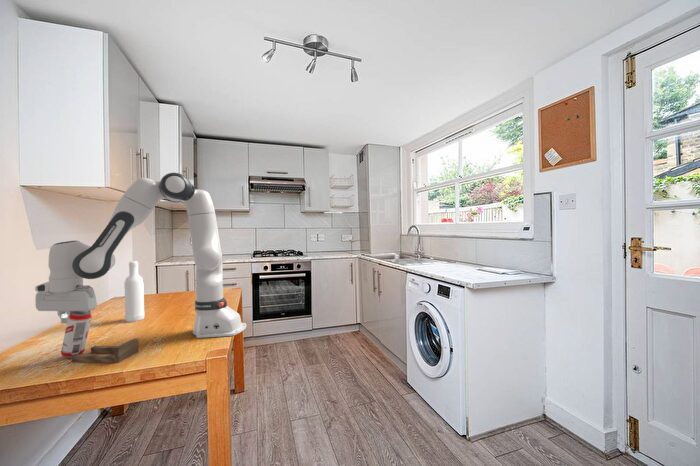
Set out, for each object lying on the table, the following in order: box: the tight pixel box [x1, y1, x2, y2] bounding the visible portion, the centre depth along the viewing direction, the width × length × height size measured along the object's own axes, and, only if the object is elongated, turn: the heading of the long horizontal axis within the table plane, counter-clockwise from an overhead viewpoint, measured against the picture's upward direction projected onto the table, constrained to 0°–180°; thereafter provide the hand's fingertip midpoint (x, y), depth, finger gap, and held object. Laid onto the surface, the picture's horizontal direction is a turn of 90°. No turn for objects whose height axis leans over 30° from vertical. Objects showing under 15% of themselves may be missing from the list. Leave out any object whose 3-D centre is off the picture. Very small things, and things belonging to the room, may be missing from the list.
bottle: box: [123, 260, 146, 323], centre depth 144 cm, size 8×8×30 cm
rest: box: [71, 338, 140, 363], centre depth 102 cm, size 18×8×5 cm, turn 87°
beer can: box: [60, 311, 93, 358], centre depth 103 cm, size 6×6×16 cm
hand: (67, 322), depth 103 cm, fingers closed
